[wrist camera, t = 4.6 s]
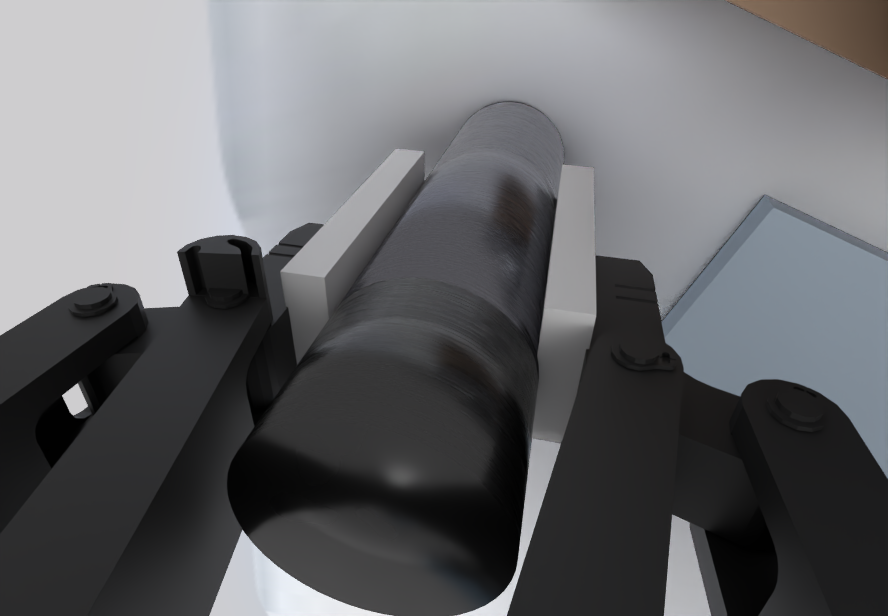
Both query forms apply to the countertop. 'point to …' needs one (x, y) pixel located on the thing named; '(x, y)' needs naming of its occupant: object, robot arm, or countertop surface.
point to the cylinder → (419, 392)
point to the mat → (792, 316)
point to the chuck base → (833, 26)
